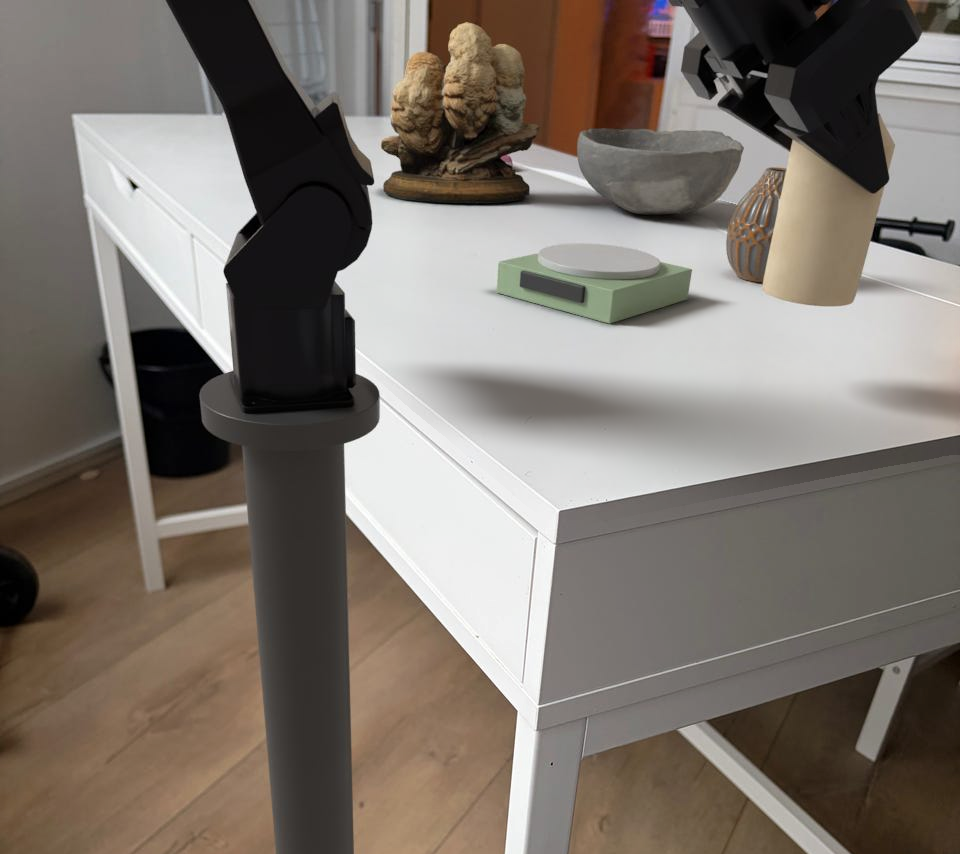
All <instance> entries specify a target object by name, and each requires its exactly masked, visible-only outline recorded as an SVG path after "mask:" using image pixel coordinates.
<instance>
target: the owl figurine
mask: <svg viewBox="0 0 960 854" xmlns="http://www.w3.org/2000/svg"><path fill="white" fill-rule="evenodd" d="M447 46H448V47H447V48H448V51H447V52H448V53H449V55H450V62H449V63H448V65H446V64H445V63H444V61H442V60H441V59H440V57H439V56H437V55H435V54H433V53H432V52H427V51H418V52H416V53H413V54H412V55H411V56H410V57H409V59H408V61H407V64H406V66H405V67H406V68H405V72H404V77H403V79H402V80H401V81H399V82H397V84H396V86H395V87H394V90H393V91H392V97H393V99H392V102H391V104H390V105H391V107H390V108H391V109H390V110H391V114H390V115H389V117H390V118H389V119H390V125H391V127H392V128H393V131H394V132H395V134H398V135H388V137H384V138H382V140H381V142H380V143H381V144H380V148H381V150H383V151H384V152H385V153H386V154H388V155H391V156H393V157H396V158H398V159H399V166H400V170H395V171H393V172H392V173H391V174H390V176H389V177H388V179H386V180H385V181H384V182H383V192H384V194H385V195H387V196H390V197H393V198H395V199H399V200H405V201H416V202H429V203H430V202H431V203H442V204H444V203H447V204H449V203H450V204H495V203H498V204H499V203H509V202H516V201H521V200H523V199H525V198H526V197H529V196H530V190H531V189H530V184H528V183H527V182H526V181H525V180H524V178H523V176H522V175H521V174H517V173H516V172H517V171H516V170H515V169H512V168H514V166H510V165H508V164H506V163H505V161H503V160H502V159H501V157H502V156H505V155H508V156H509V155H511V154H514V153H517V152H520V151H522V152H524V151H528V150H529V149H531V147H532V146H533V140H534V139H536V137H538V134H539V130H540V129H541V126H540V125H539V124H536V123H529V124H528V123H523V122H524V120H523V119H524V110H525V107H526V102H527V95H526V94H525V93H524V90H523V87H524V81H525V74H526V73H525V67H524V63H523V59H522V55H521V52H520V51H518V50H517V49H516V48H515V47H513V46H510V44H506V43H498V44H496V45H495V46H493V43H492V39H491V37H490V36H489V35H488V34H487V33H486V31H485V30H484V29H483V28H482V27H480V26H479V25H478V24H474V23H471V22H469V21H465V22H464V23H460V24H457V26H456V27H455V28H454V29H452V31H451V33H450V34H449V40H448V45H447Z"/></svg>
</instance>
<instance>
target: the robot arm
mask: <svg viewBox="0 0 960 854" xmlns="http://www.w3.org/2000/svg"><path fill="white" fill-rule="evenodd" d="M165 2H166V4H167V6H168V8H169V10H170V12H171V13H172V15H173V17H174V19H175V20H176V22H177V25H178V26H179V28H180V30H181V32H182V34H183V36H184V37H185V39H186V41H187V43H188V45H189V46H190V49H191V50H192V52H193V54H194V56H195V58H196V60H197V61H198V63H199V65H200V68H201V69H202V71H203V73H204V74H205V76H206V79H207V81H208V82H209V84H210V85H211V86H210V87H212V90H213V91H214V93H215V95H216V98H217V99H218V100H219V103H220V104H221V107H222V109H223V112H224V115H225V117H226V121H227V124H228V129H229V131H230V135H231V138H232V142H233V145H234V148H235V153H236V156H237V158H238V162H239V165H240V169H241V172H242V175H243V179H244V181H245V184H246V187H247V190H248V192H249V195H250V198H251V200H252V204H253V207H254V209H255V213H254V214H253V215H252V217H251V218H250V219H249V220H247V222H246V223H245V224H244V225H243V226H242V227H241V228H240V229H239V231H237V232H236V235H235V238H234V241H233V243H232V244H231V245H232V246H231V248H230V250H229V253H228V257H227V259H226V261H225V264H224V267H223V277H224V278H225V280H226V283H225V289H226V300H227V301H226V302H227V314H228V326H229V336H230V337H229V338H230V347H231V349H230V350H231V360H232V370H231V371H228V372H229V378H230V382H231V385H232V387H233V390H234V392H235V395H236V398H237V400H238V403H239V405H240V408H241V411H242V412H243V413H245V414H261V413H276V412H291V411H305V410H320V409H335V408H349V407H353V406H354V397H353V395H352V394H351V392H350V390H349V389H348V388H353V387H354V386H355V385H356V374H357V366H356V365H357V362H356V358H357V357H356V320H355V318H354V317H353V316H352V315H351V314H350V312H349V311H348V309H347V308H346V293H345V292H344V290H343V289H342V288H341V287H340V285H339V284H338V283H337V282H336V278H337V275H338V272H341V271H344V270H345V269H346V268H347V269H348V267H349V266H351V265H352V264H354V263H355V262H356V261H357V260H358V259H359V258H360V257H361V256H362V254H363V252H364V250H365V249H366V248H367V246H368V243H369V239H370V237H371V233H372V230H373V211H372V206H371V197H370V192H369V188H368V187H369V186H370V187H371V186H373V185H374V184H375V177H374V171H373V168H372V163H371V159H370V158H369V157H368V156H367V155H366V154H364V152H362V151H361V150H360V149H359V147H358V145H357V144H356V142H355V141H354V139H353V138H352V135H351V132H350V130H349V127H348V124H347V120H346V117H345V114H344V110H343V108H342V103H341V101H340V98H339V94H338V93H337V92H336V91H333V92H331V93H330V94H329V95H327V96H326V97H325V98H324V99H323V100H321V101H320V102H319V103H318V104H315V102H314V101H313V100H312V99H311V98H310V96H309V95H308V93H307V92H306V90H305V89H304V88H303V87H302V86H301V84H300V83H299V82H298V80H297V79H296V77H295V76H294V75H293V73H292V72H291V70H290V69H289V68H288V66H287V64H286V62H285V60H284V58H283V57H282V54H281V52H280V51H279V48H278V47H277V44H276V42H275V40H274V38H273V36H272V34H271V32H270V30H269V28H268V26H267V24H266V22H265V20H264V18H263V16H262V14H261V12H260V10H259V8H258V6H257V3H256V1H255V0H165ZM668 2H669V3H670V5H671V6H672V7H680V8H684V10H685V12H686V14H687V15H688V16H689V18H690V19H691V22H693V24H694V26H695V28H696V29H697V30H698V33H697V34H696V35H695V36H694V37H693V38H692V39H690V40H689V41H688V42H687V43H686V45H685V46H684V48H683V53H682V61H681V68H680V72H681V74H682V75H683V77H684V78H685V80H686V81H687V83H688V84H689V86H690V88H691V89H692V90H693V92H694V94H695V95H696V97H699V98H702V99H705V100H708V101H712V99H713V98H714V97H715V96H716V95H718V94H719V91H718V88H717V84H716V81H715V80H717V79H718V80H719V82H720V83H721V85H722V86H723V88H724V89H725V91H726V93H725V94H724V95H723V96H722V97H721V98H720V99H719V100H718V101H717V104H716V106H717V107H718V109H720V110H721V111H722V112H725V113H726V114H728V115H730V116H731V117H733V118H735V119H736V120H738V121H739V122H741V123H742V124H743V125H744V124H745V126H748V127H749V128H751V129H752V130H754V131H756V132H757V133H759V134H760V135H761V136H763V137H765V138H767V139H768V140H770V141H771V142H773V143H775V144H777V145H778V146H779V147H781V148H783V149H784V150H786V151H787V152H789V153H790V150H791V146H792V141H793V140H795V141H796V142H797V143H799V144H800V145H802V146H803V147H805V148H806V149H808V150H809V151H810V152H812V153H813V154H815V155H816V156H818V157H819V158H820V159H822V160H823V161H825V162H826V163H827V164H829V165H830V166H832V167H833V168H835V169H836V170H837V171H839V172H840V173H842V174H843V175H845V176H846V177H847V178H849V179H850V180H852V181H853V182H855V183H856V184H857V185H859V186H860V187H862V188H863V189H865V190H866V191H868V192H869V193H872V194H874V193H876V192H878V191H879V190H880V189H881V188H882V187H884V186H886V185H888V183H889V181H890V172H889V171H888V167H887V161H886V156H885V150H884V145H883V139H882V134H881V128H880V123H879V117H878V113H879V111H878V103H877V95H876V87H877V83H878V81H879V78H880V76H881V75H883V73H884V72H885V71H887V70H888V69H889V68H890V67H891V66H892V65H894V63H896V62H897V61H898V60H899V59H901V57H903V56H904V55H905V54H906V53H907V52H908V51H909V50H910V49H911V48H913V47H914V46H915V45H916V44H917V43H918V42H919V41H920V38H921V36H922V34H923V32H924V31H923V29H922V27H921V24H920V22H919V21H918V18H917V17H916V15H915V13H914V10H913V9H912V6H911V5H910V3H909V1H908V0H836V1H835V2H834V3H833V4H832V5H831V6H830V7H829V8H828V9H826V10H825V11H824V12H823V13H822V14H821V15H820V16H819V17H818V15H817V13H816V12H817V11H818V10H819V9H820V8H821V7H823V6H827V5H828V4H830V3H831V2H832V0H668ZM884 188H885V187H884Z"/></svg>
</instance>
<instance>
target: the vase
mask: <svg viewBox="0 0 960 854" xmlns="http://www.w3.org/2000/svg"><path fill="white" fill-rule="evenodd" d="M786 169H787V167H773V166H772V167H767V168H766V169H764V172H763V174H762V175H761V176H760V178H759V179H758V181H757V182H756V183H755V184H754V185H753V186H752V187H751V188H750V189H749V190H748V191H747V192H746V194H744V196H743V197H742V198H741V199H740V200H739V202H738V203H737V204H736V207H735V209H734V210H733V212H732V215H731V217H730V220H729V223H728V226H727V230H726V231H727V233H726V241H725V250H726V257H727V261H728V263H729V267H731V269H732V271H733V272H734V274H735V276H736V277H738V278H740V279H742V280H745V281H749V282H755V283H762V284H763V280H764V275H765V269H766V265H767V260H768V255H769V250H770V246H771V241H772V236H773V231H774V227H775V222H776V217H777V212H778V207H779V203H780V198H781V193H782V188H783V184H784V179H785V174H786Z"/></svg>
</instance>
